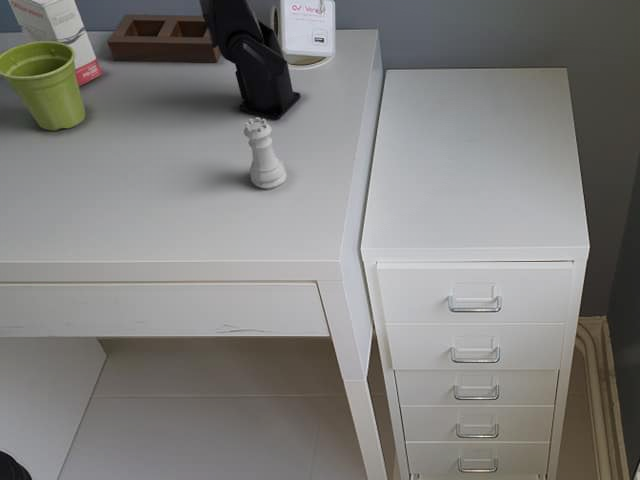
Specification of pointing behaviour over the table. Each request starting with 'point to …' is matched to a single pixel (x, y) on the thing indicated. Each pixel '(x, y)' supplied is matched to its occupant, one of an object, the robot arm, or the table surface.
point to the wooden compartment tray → (162, 39)
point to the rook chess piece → (263, 156)
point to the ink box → (58, 31)
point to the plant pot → (45, 82)
